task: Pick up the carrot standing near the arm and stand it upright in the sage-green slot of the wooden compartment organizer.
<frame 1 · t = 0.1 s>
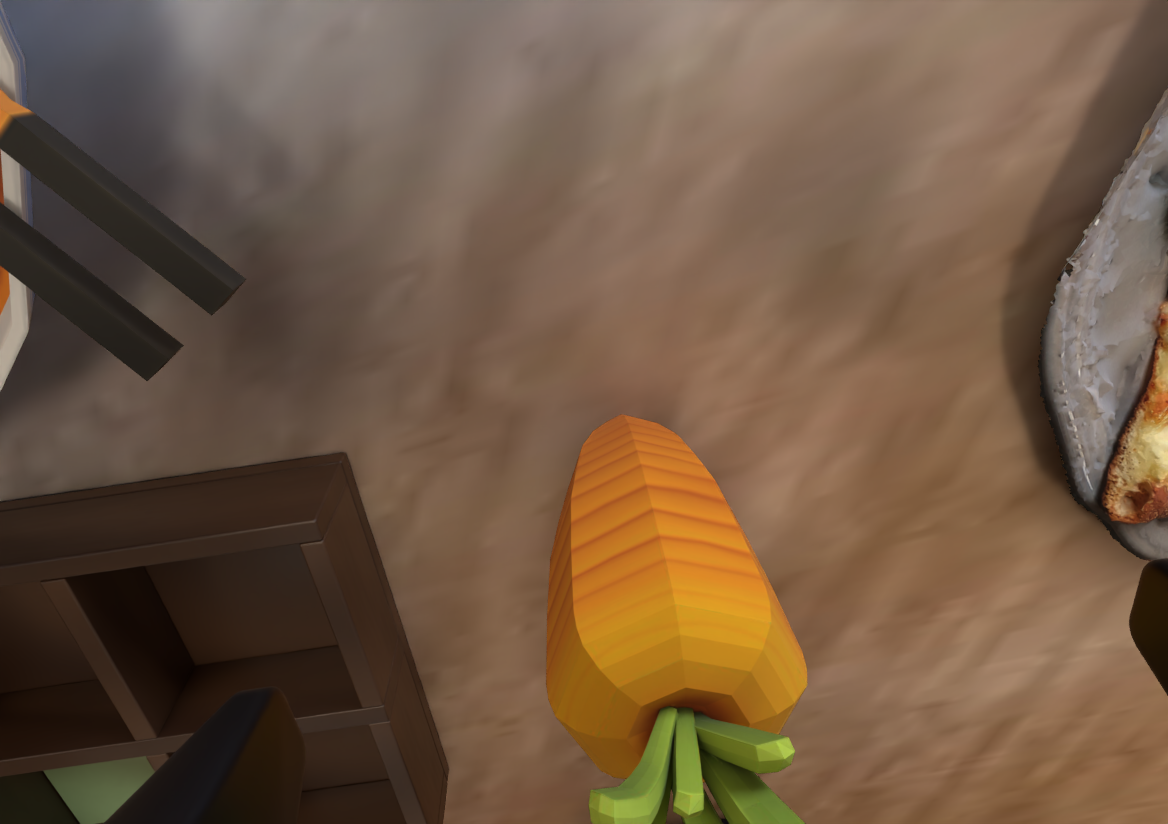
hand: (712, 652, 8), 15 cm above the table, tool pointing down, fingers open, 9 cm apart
wooden compartment organizer: (97, 675, 27), on the table
carrot: (620, 421, 23), on the table
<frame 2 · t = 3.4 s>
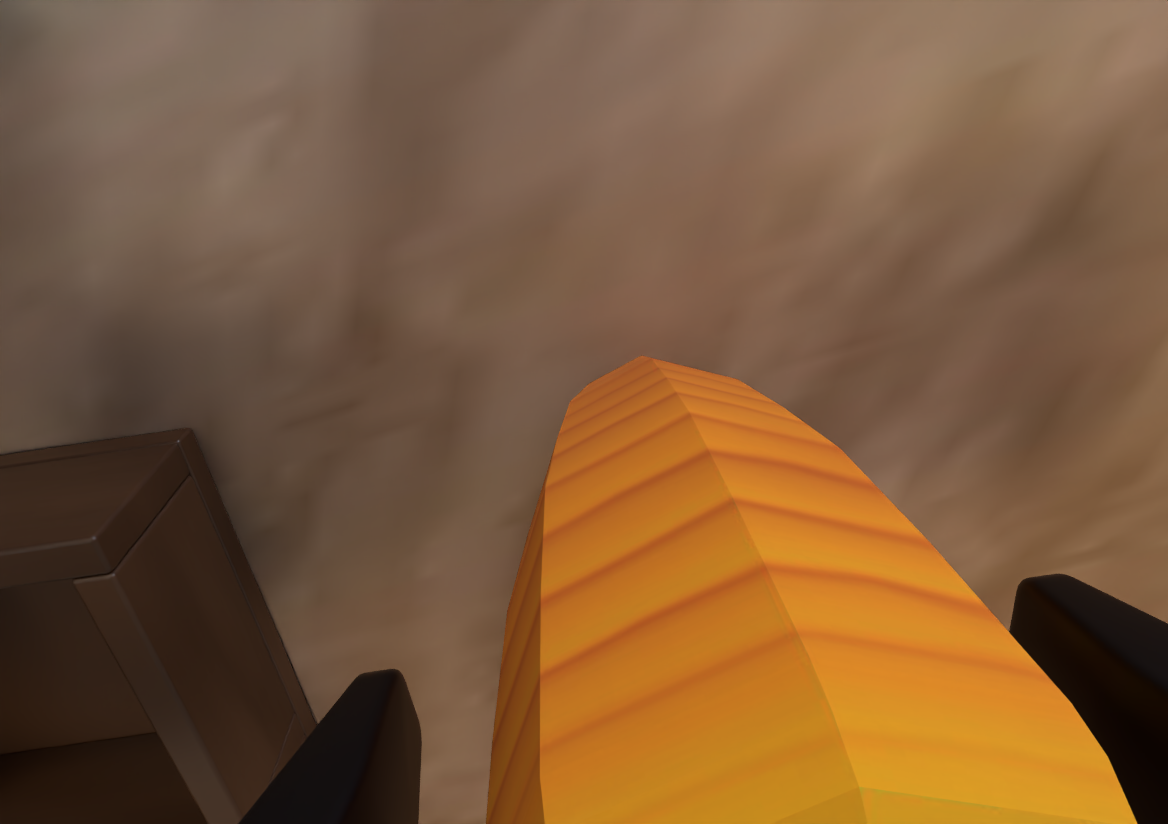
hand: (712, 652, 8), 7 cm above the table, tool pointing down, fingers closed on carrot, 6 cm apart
carrot: (632, 378, 15), on the table, touching gripper
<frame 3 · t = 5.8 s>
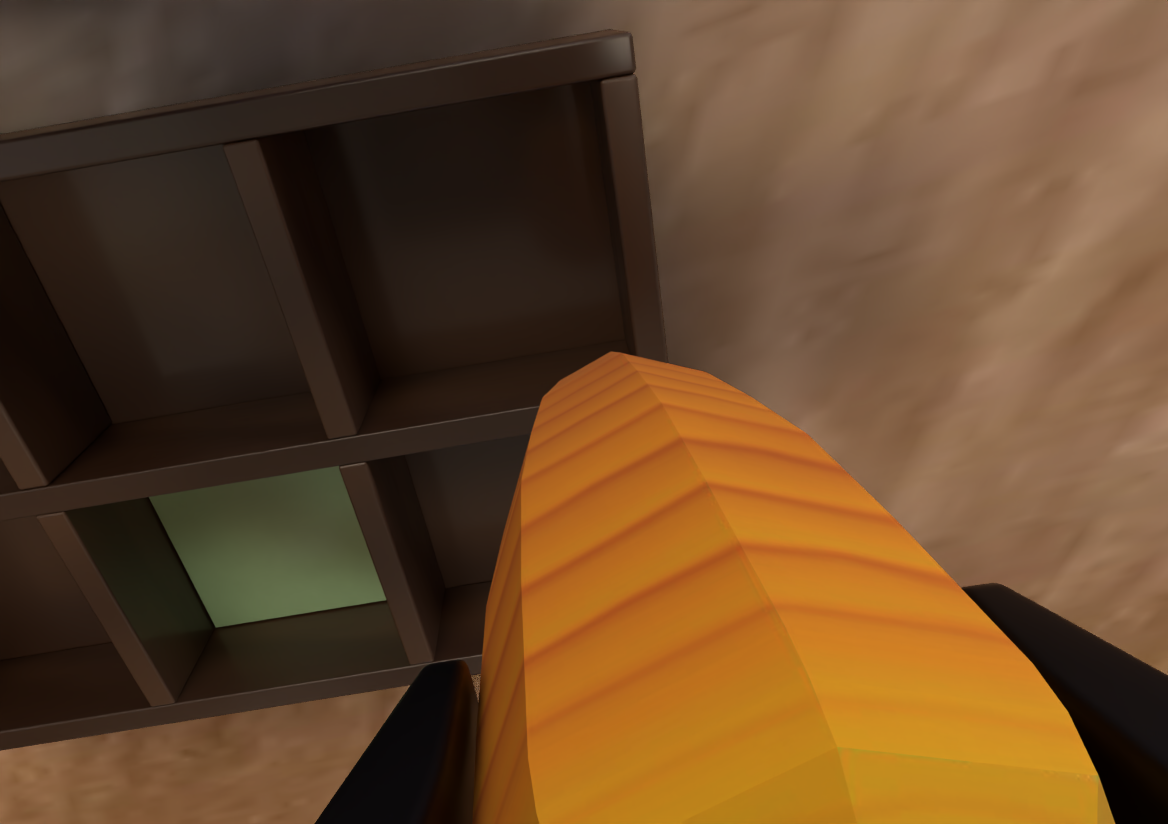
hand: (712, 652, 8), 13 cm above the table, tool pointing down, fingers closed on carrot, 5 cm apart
wooden compartment organizer: (246, 404, 20), on the table
carrot: (601, 375, 15), point 5 cm above the table, touching gripper
when the fingers open (8 cm above the table, at t = 8.5 s): carrot stays where it is, resting on wooden compartment organizer.
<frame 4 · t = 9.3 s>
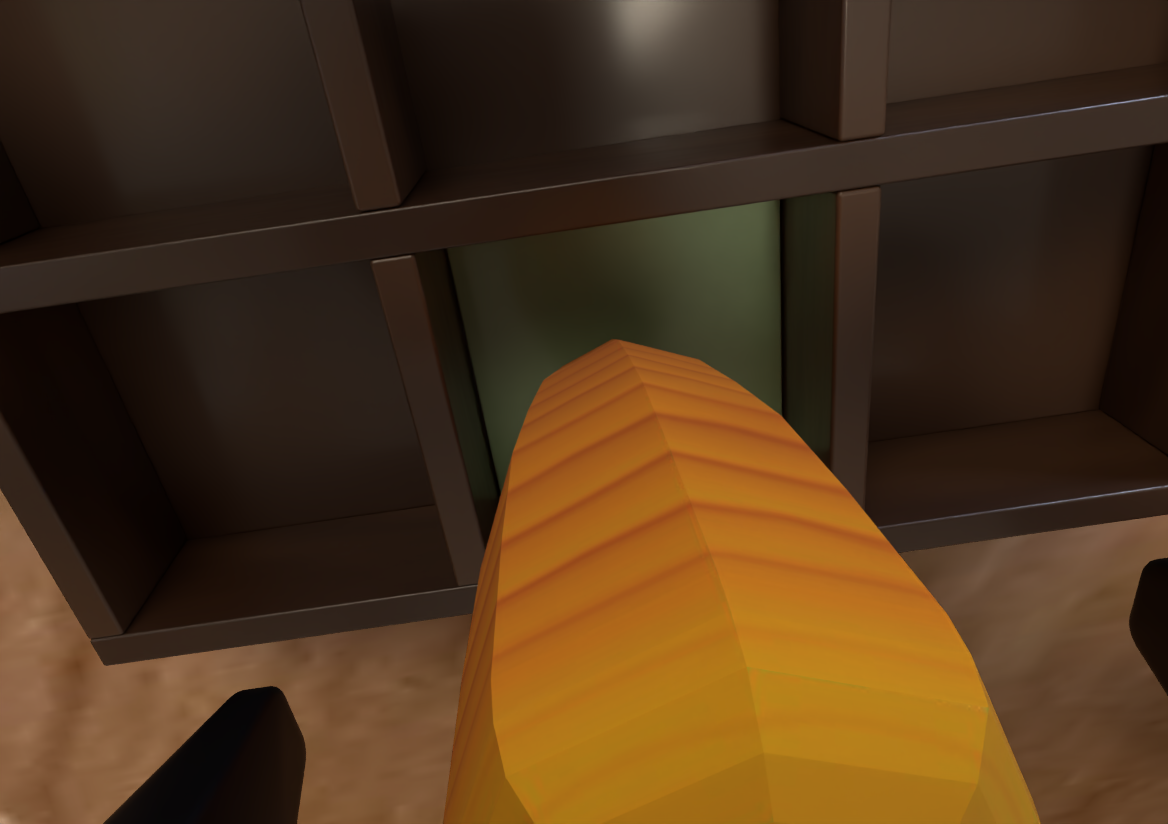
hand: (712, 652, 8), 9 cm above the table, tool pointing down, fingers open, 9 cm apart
wooden compartment organizer: (602, 159, 14), on the table
carrot: (607, 363, 16), point 1 cm above the table, touching wooden compartment organizer
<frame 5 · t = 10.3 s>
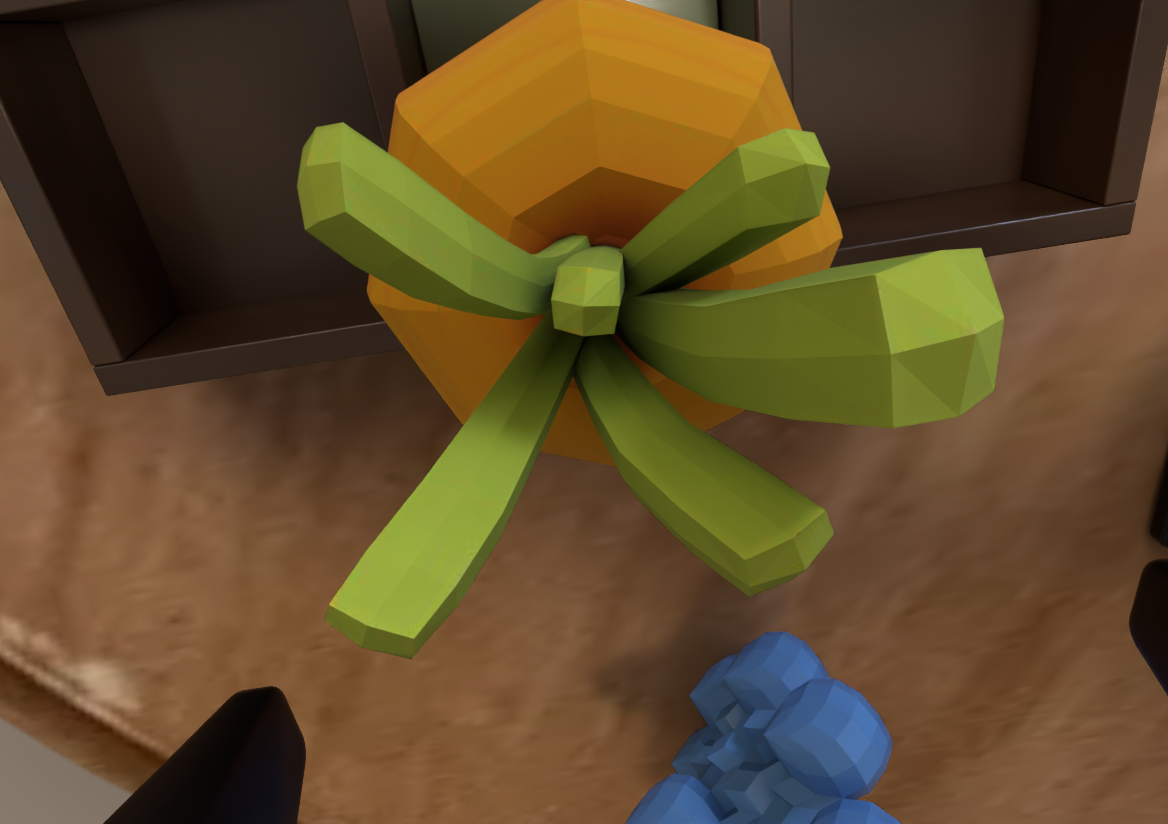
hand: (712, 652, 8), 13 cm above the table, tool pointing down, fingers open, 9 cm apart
grapes: (698, 663, 26), on the table
carrot: (563, 127, 17), point 1 cm above the table, touching wooden compartment organizer
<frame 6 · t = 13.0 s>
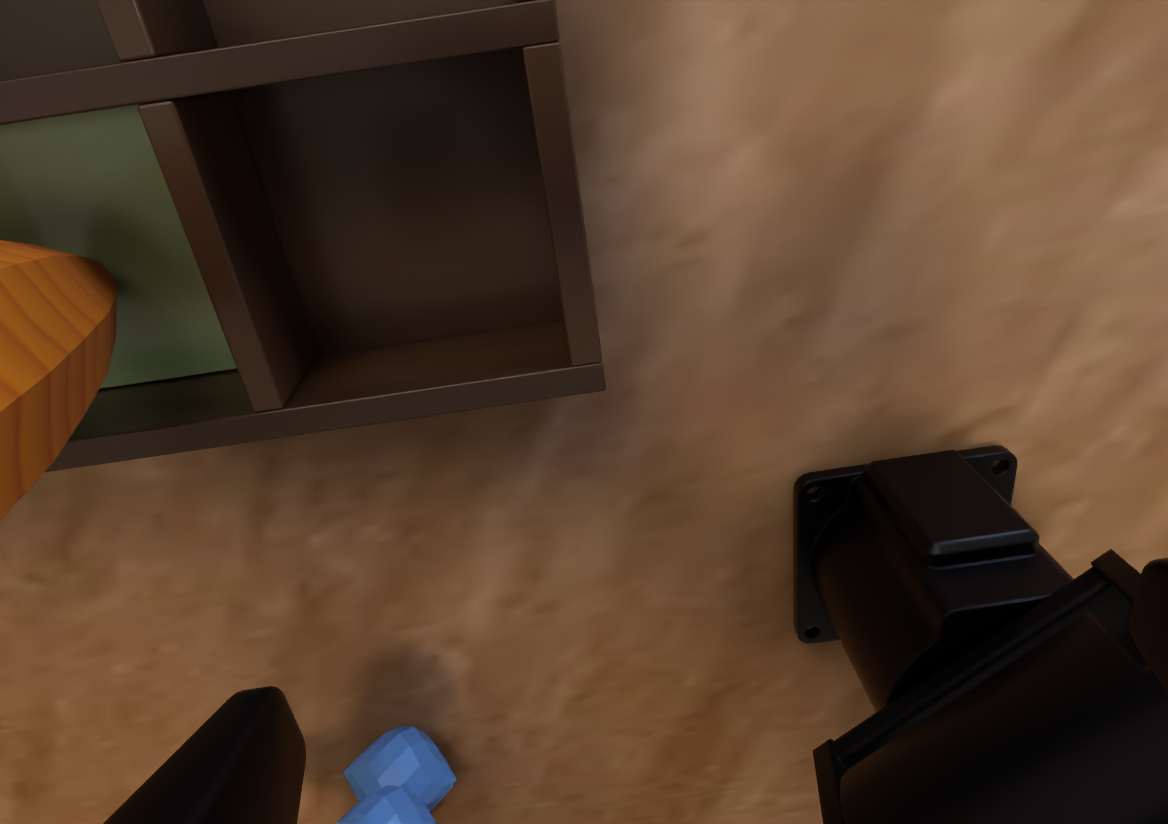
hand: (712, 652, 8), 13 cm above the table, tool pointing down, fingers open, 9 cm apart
wooden compartment organizer: (61, 93, 17), on the table
grapes: (383, 743, 27), on the table
carrot: (104, 274, 18), point 1 cm above the table, touching wooden compartment organizer
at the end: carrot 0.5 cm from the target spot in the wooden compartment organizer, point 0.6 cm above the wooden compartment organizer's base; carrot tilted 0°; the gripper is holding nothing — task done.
